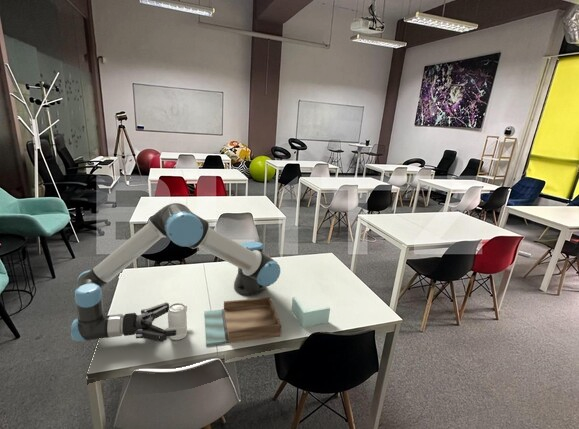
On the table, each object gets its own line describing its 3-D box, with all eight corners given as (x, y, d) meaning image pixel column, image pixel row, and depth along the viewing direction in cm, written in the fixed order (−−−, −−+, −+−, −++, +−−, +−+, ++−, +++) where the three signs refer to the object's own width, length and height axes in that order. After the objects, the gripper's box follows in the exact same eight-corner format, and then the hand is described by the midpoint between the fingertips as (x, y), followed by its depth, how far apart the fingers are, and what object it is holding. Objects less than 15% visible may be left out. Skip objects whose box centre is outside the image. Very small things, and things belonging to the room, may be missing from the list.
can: (172, 328, 124) (171, 301, 120) (189, 330, 124) (188, 303, 120) (166, 340, 118) (164, 312, 114) (183, 341, 117) (182, 313, 114)
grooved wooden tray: (204, 313, 134) (204, 303, 133) (269, 306, 142) (270, 297, 141) (206, 345, 116) (206, 334, 115) (280, 336, 124) (281, 325, 123)
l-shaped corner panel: (328, 323, 135) (330, 308, 133) (302, 328, 130) (303, 312, 128) (315, 307, 146) (317, 293, 143) (291, 311, 141) (292, 297, 139)
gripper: (130, 313, 126) (187, 307, 132) (117, 358, 103) (186, 349, 109) (129, 296, 124) (186, 291, 130) (114, 339, 101) (185, 331, 107)
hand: (186, 318), depth 119 cm, fingers open, 13 cm apart
